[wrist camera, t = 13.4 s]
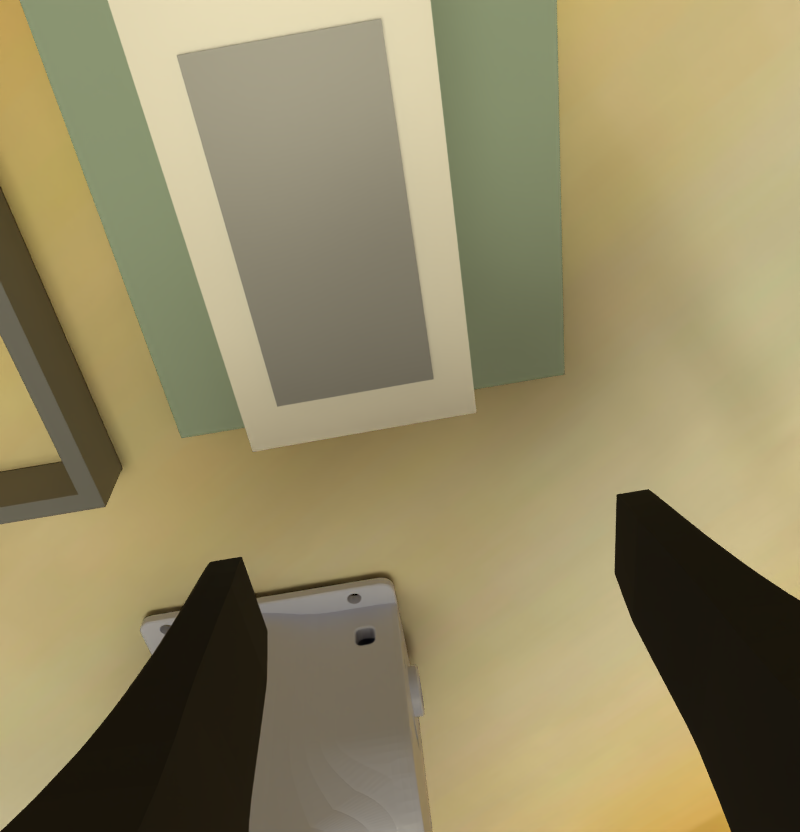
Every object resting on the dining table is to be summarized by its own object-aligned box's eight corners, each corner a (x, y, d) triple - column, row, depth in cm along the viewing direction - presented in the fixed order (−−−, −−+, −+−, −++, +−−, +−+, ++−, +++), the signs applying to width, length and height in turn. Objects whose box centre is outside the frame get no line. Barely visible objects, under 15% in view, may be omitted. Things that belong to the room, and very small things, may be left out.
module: (387, -52, 16) (423, -74, 10) (432, 284, 20) (477, 416, 14) (188, -17, 16) (98, -16, 10) (275, 312, 20) (251, 456, 14)
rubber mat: (542, -278, 14) (550, -289, 14) (559, 365, 22) (564, 374, 22) (-37, -181, 14) (-49, -186, 14) (184, 428, 22) (181, 438, 22)
